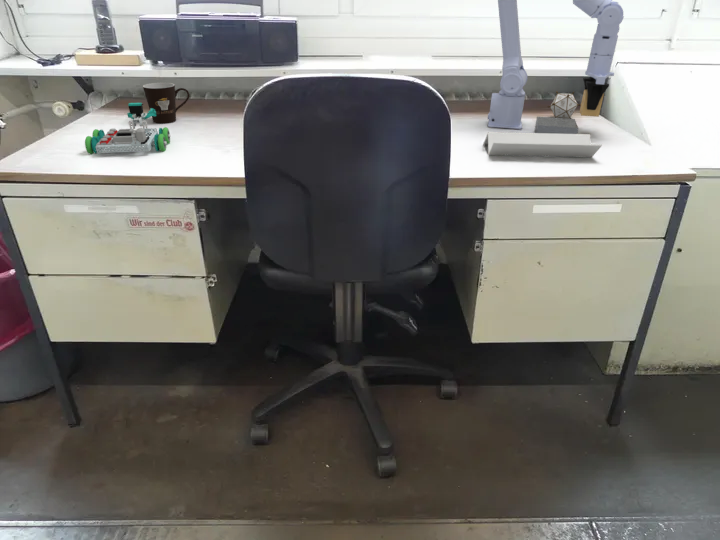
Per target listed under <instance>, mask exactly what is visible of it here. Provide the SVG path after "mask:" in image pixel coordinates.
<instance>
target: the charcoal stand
mask: <svg viewBox="0 0 720 540" xmlns="http://www.w3.org/2000/svg"><path fill="white" fill-rule="evenodd" d="M578 132H579V126H578V124H577V121H576V119H575V118H571V119H570V118H554V117H549V116H548V117H547V116H536V120H535V126H534V133H551V134H579V133H578Z"/></svg>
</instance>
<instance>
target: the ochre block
mask: <svg viewBox="0 0 720 540" xmlns="http://www.w3.org/2000/svg"><path fill="white" fill-rule="evenodd" d="M604 95H605V92H604V93H603V95H602V97H601V99H600V101H599V104H598V106H597V108H596V110H588V109H587V97H588V92H587V90H585V89H584V90H583V94H582V99H581V103H580V104H581V105H580V106H579V107H580V108H579V115H580V116H583V117H600V112H601V110H602V109H601V108H602V104H603V100H604Z"/></svg>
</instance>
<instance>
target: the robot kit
mask: <svg viewBox="0 0 720 540" xmlns="http://www.w3.org/2000/svg"><path fill="white" fill-rule="evenodd" d="M127 106H128V111H129V112H127V113H126V115H127V118H129V119H131V120H129V121H128V125H129V128H121V129H120V128H119V129H118V130H117V129H116V128H110V129H109V131H107V133H106V134H105V131H104V129H98V128H97V129H93V131H92V136H90V135H88V136H86V137H85V140H84V145H85V149H86V152H87V153H88V154H89V155H93V154H95V155H96V154H98V155H101V154H102V153H103V154H105V153H108V154H109V153H132V152H133V153H135V152H136V153H138V152H150V151H151V149H152V148H153V147H155V151H156V152H165V151H166V150H167V145H169V144H171V143H170V142H171V137H172V136H171V134H170V130H169V128H168V127H166V126H164V127H159V128H158V129H157V128H154V127H153V128H152V127H151V128H148V123H147V121H146V120H147V119H150V118H152V116H154V117H155V116H156V111H155V109H153V108H150V109H149V110H148V111H147V112H144V107H143V106H144V103H142V102H128V105H127ZM137 124H139V126H140V127H138V128H136V127H137Z"/></svg>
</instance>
